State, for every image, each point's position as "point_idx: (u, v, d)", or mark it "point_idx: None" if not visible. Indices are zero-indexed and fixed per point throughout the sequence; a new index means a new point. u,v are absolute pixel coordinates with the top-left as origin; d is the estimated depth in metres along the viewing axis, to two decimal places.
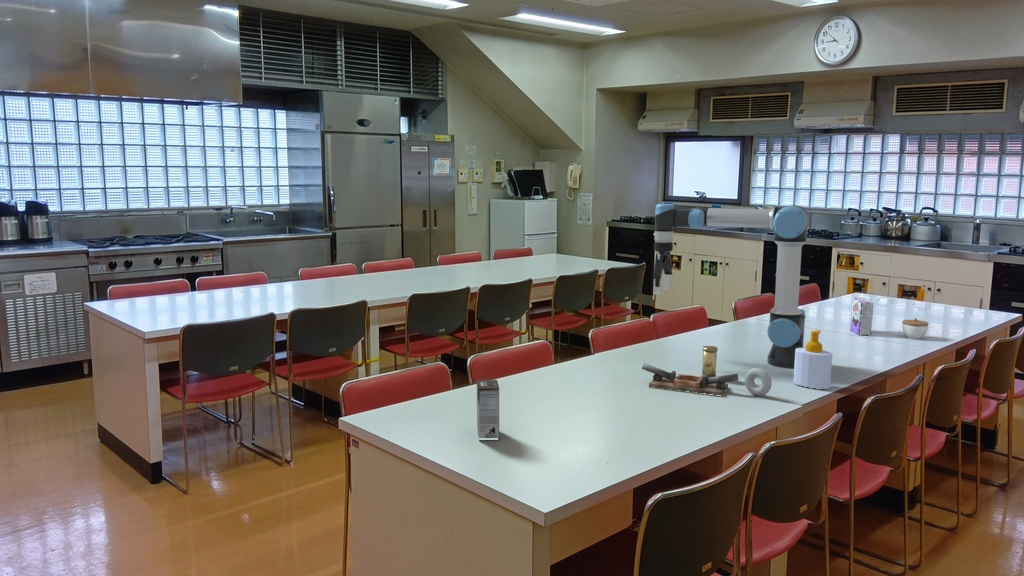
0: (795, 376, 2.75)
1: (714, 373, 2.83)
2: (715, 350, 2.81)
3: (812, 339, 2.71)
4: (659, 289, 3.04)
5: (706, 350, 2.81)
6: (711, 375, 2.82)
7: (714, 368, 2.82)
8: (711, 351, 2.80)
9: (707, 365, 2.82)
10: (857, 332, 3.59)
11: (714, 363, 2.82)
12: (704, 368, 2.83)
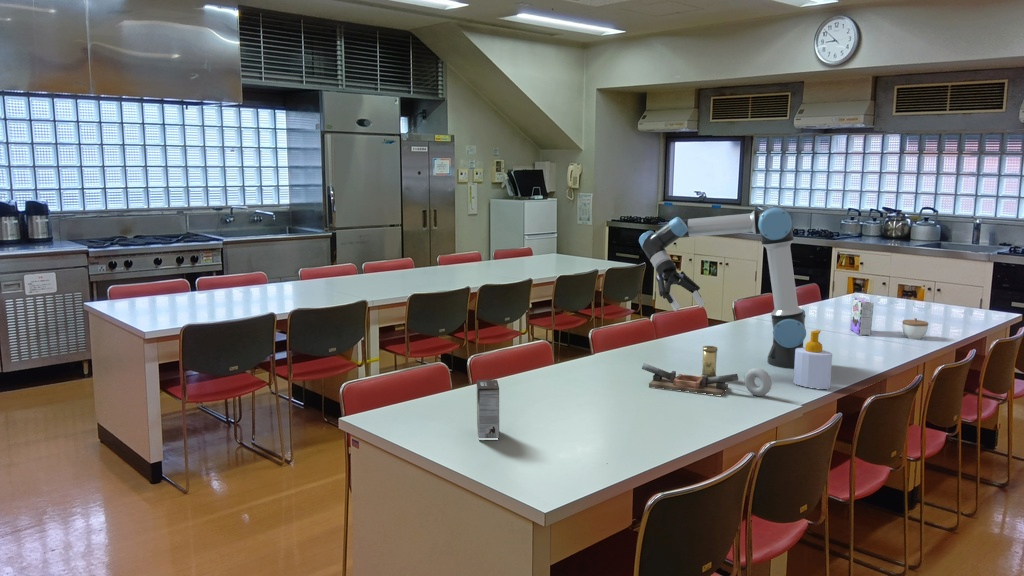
0: (795, 376, 2.75)
1: (714, 373, 2.83)
2: (715, 350, 2.81)
3: (812, 339, 2.71)
4: (675, 303, 2.86)
5: (706, 350, 2.81)
6: (711, 375, 2.82)
7: (714, 368, 2.82)
8: (711, 351, 2.80)
9: (707, 365, 2.82)
10: (857, 332, 3.59)
11: (714, 363, 2.82)
12: (704, 368, 2.83)
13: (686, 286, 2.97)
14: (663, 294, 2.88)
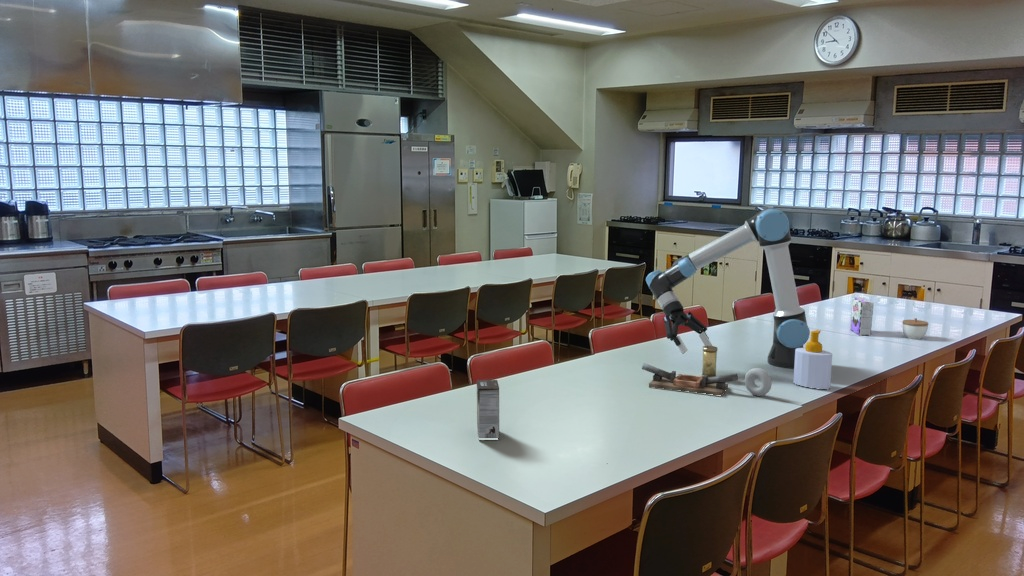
0: (795, 376, 2.75)
1: (714, 373, 2.83)
2: (715, 350, 2.81)
3: (812, 339, 2.71)
4: (682, 346, 2.84)
5: (706, 350, 2.81)
6: (711, 375, 2.82)
7: (714, 368, 2.82)
8: (711, 351, 2.80)
9: (707, 365, 2.82)
10: (857, 332, 3.59)
11: (714, 363, 2.82)
12: (704, 368, 2.83)
13: (693, 327, 2.94)
14: (670, 336, 2.85)
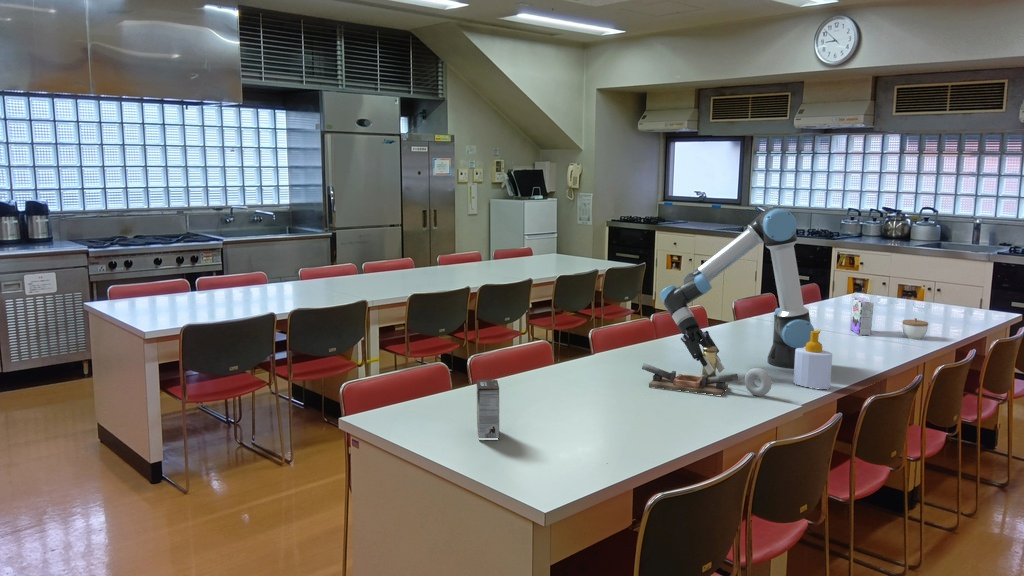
0: (795, 376, 2.75)
1: (714, 373, 2.83)
2: (715, 350, 2.81)
3: (812, 339, 2.71)
4: (709, 366, 2.80)
5: (706, 350, 2.81)
6: (711, 375, 2.82)
7: (714, 368, 2.82)
8: (711, 351, 2.80)
9: None
10: (857, 332, 3.59)
11: (714, 363, 2.82)
12: (704, 368, 2.83)
13: None
14: (697, 357, 2.81)
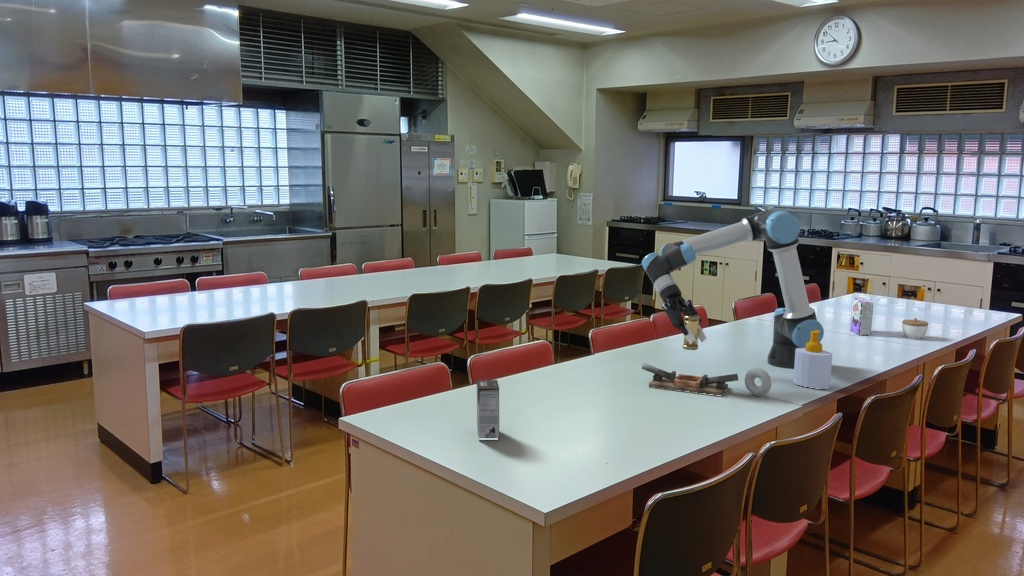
0: (795, 376, 2.75)
1: (696, 343, 2.71)
2: (697, 318, 2.69)
3: (812, 339, 2.71)
4: (690, 335, 2.68)
5: (687, 318, 2.69)
6: (692, 345, 2.70)
7: (696, 337, 2.70)
8: (693, 319, 2.68)
9: None
10: (857, 332, 3.59)
11: (696, 332, 2.70)
12: (685, 337, 2.71)
13: None
14: (678, 325, 2.69)
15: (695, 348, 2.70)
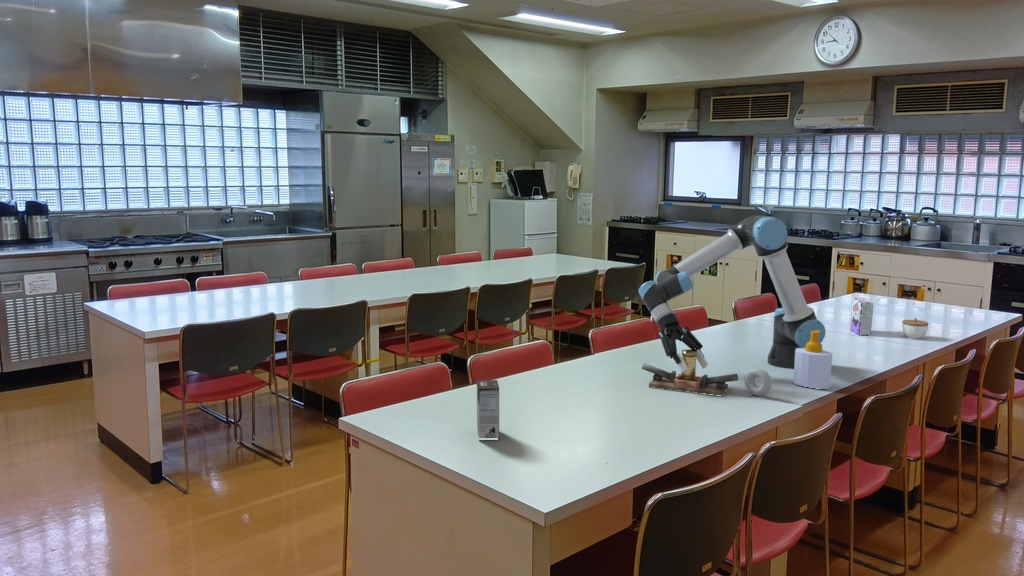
0: (795, 376, 2.75)
1: (694, 378, 2.70)
2: (695, 354, 2.68)
3: (812, 339, 2.71)
4: (683, 364, 2.66)
5: (685, 354, 2.68)
6: (690, 380, 2.70)
7: (694, 373, 2.70)
8: (691, 355, 2.68)
9: (686, 370, 2.69)
10: (857, 332, 3.59)
11: (694, 368, 2.69)
12: (683, 373, 2.70)
13: (688, 343, 2.75)
14: (670, 354, 2.68)
15: None
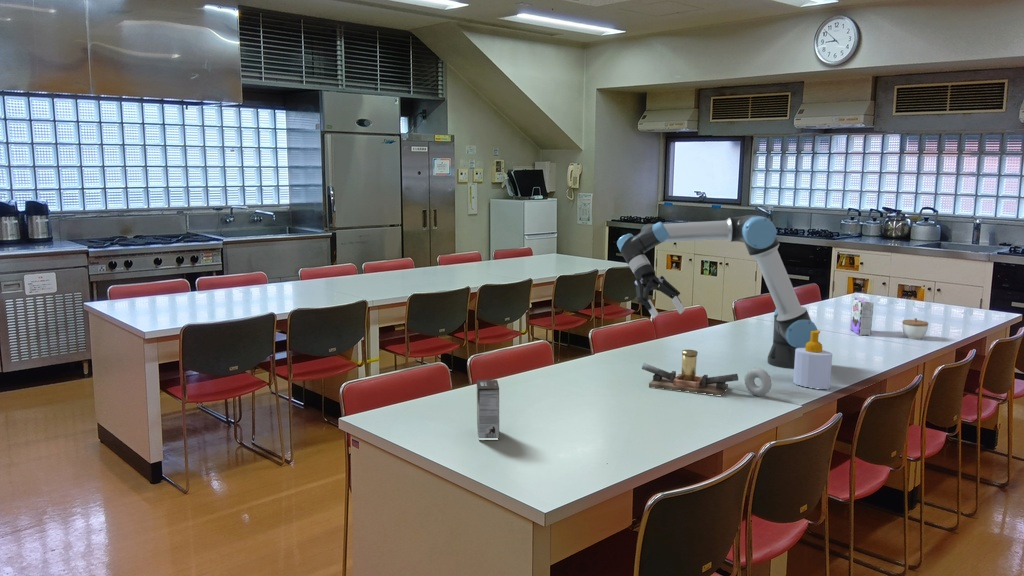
0: (795, 376, 2.75)
1: (694, 378, 2.70)
2: (695, 354, 2.68)
3: (812, 339, 2.71)
4: (653, 309, 2.74)
5: (686, 354, 2.68)
6: (691, 380, 2.70)
7: (694, 373, 2.70)
8: (691, 355, 2.68)
9: (686, 370, 2.69)
10: (857, 332, 3.59)
11: (694, 368, 2.69)
12: (684, 373, 2.70)
13: (666, 291, 2.85)
14: (641, 300, 2.76)
15: None
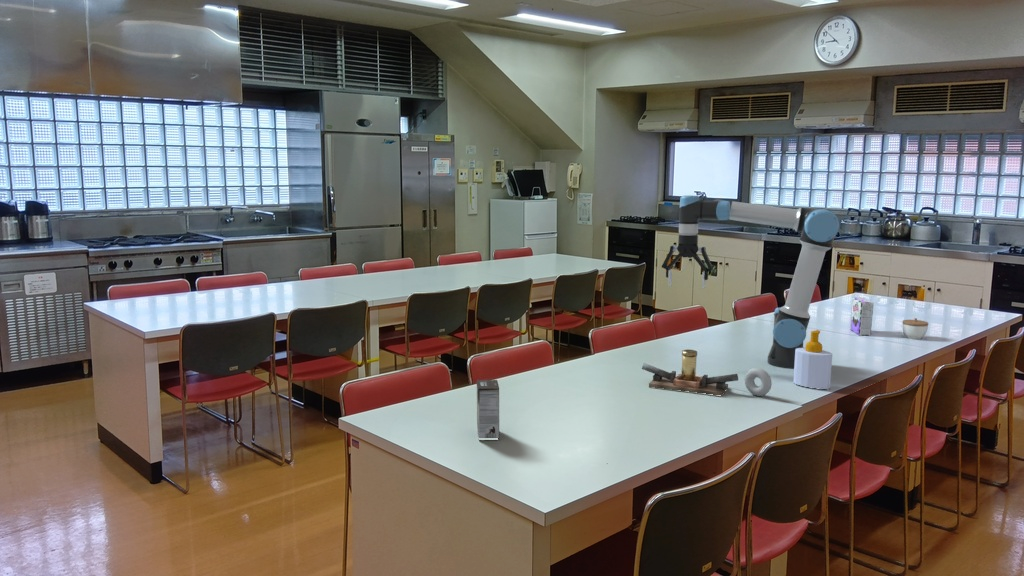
0: (795, 376, 2.75)
1: (694, 378, 2.70)
2: (695, 354, 2.68)
3: (812, 339, 2.71)
4: None
5: (686, 355, 2.68)
6: (691, 380, 2.70)
7: (694, 373, 2.70)
8: (692, 356, 2.68)
9: (687, 370, 2.69)
10: (857, 332, 3.59)
11: (694, 368, 2.69)
12: (684, 373, 2.70)
13: None
14: (663, 267, 3.05)
15: None
